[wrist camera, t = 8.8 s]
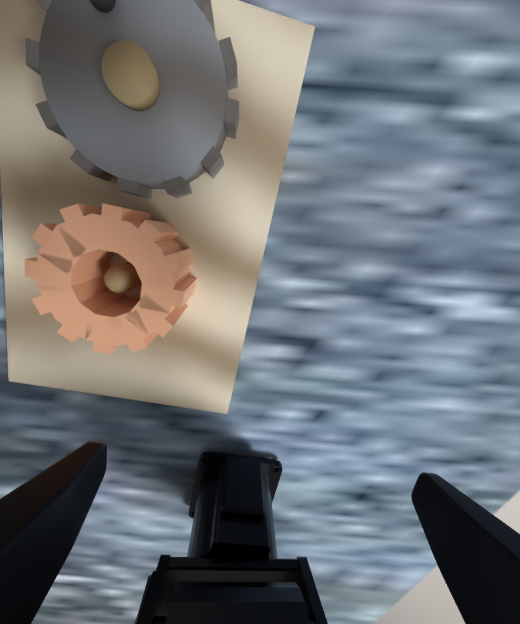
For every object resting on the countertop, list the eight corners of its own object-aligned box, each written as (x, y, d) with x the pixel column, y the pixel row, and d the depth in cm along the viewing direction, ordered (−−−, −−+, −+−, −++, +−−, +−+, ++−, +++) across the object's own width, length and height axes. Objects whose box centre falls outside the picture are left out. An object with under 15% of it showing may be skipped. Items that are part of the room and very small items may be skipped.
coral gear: (187, 337, 17) (172, 364, 13) (72, 316, 16) (25, 339, 12) (205, 226, 15) (194, 224, 11) (77, 195, 14) (23, 184, 11)
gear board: (228, 403, 20) (223, 455, 15) (23, 371, 18) (-52, 419, 13) (308, 43, 14) (342, -51, 9) (14, -56, 12) (-127, -232, 7)
